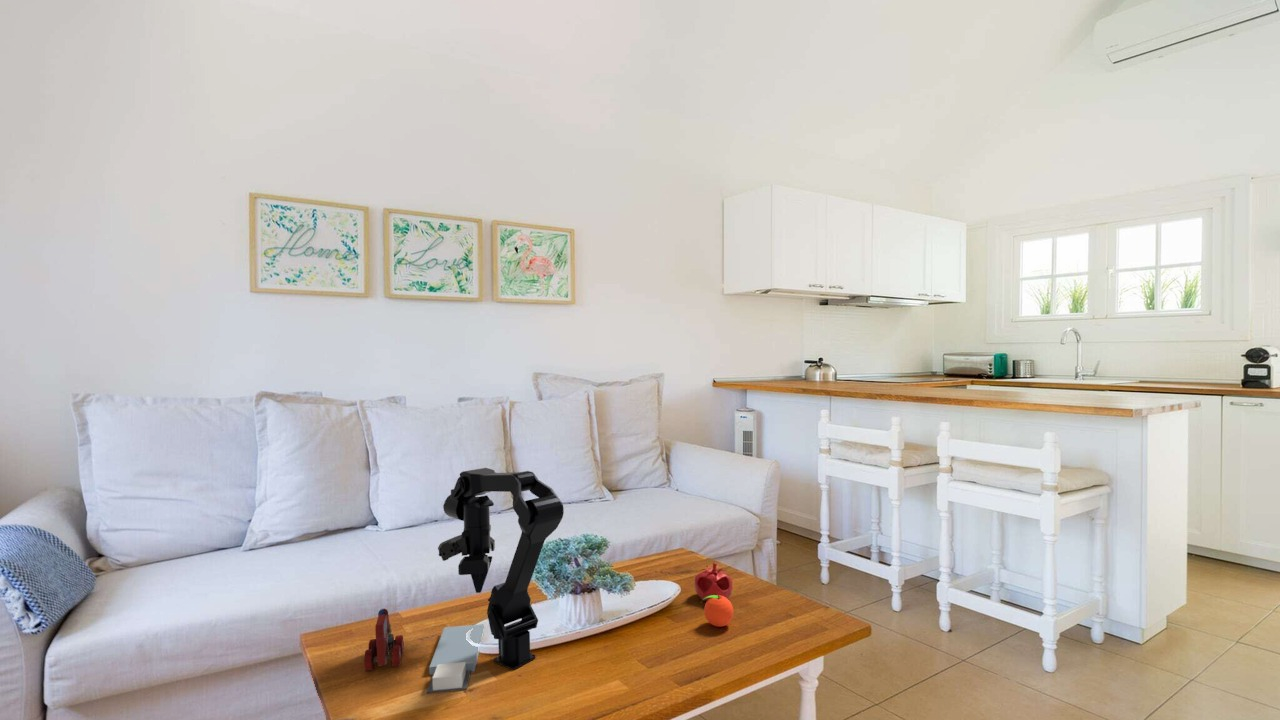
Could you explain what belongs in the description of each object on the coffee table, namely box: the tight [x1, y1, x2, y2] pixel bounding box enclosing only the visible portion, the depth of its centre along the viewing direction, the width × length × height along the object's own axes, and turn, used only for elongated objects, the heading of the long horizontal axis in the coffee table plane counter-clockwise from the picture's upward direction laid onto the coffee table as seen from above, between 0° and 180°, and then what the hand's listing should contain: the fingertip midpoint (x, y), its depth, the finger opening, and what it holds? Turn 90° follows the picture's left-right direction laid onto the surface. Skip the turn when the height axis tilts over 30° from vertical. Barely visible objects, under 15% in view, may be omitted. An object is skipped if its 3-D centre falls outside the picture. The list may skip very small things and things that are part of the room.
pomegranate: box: [693, 562, 734, 602], centre depth 167 cm, size 10×10×9 cm
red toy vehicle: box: [363, 608, 405, 671], centre depth 136 cm, size 7×12×10 cm, turn 15°
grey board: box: [428, 623, 485, 676], centre depth 140 cm, size 19×9×2 cm, turn 8°
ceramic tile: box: [433, 662, 466, 690], centre depth 126 cm, size 6×6×2 cm
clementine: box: [701, 595, 735, 628], centre depth 150 cm, size 8×7×7 cm
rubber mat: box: [426, 670, 472, 694], centre depth 127 cm, size 7×8×1 cm
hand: (478, 592), depth 145 cm, fingers closed
